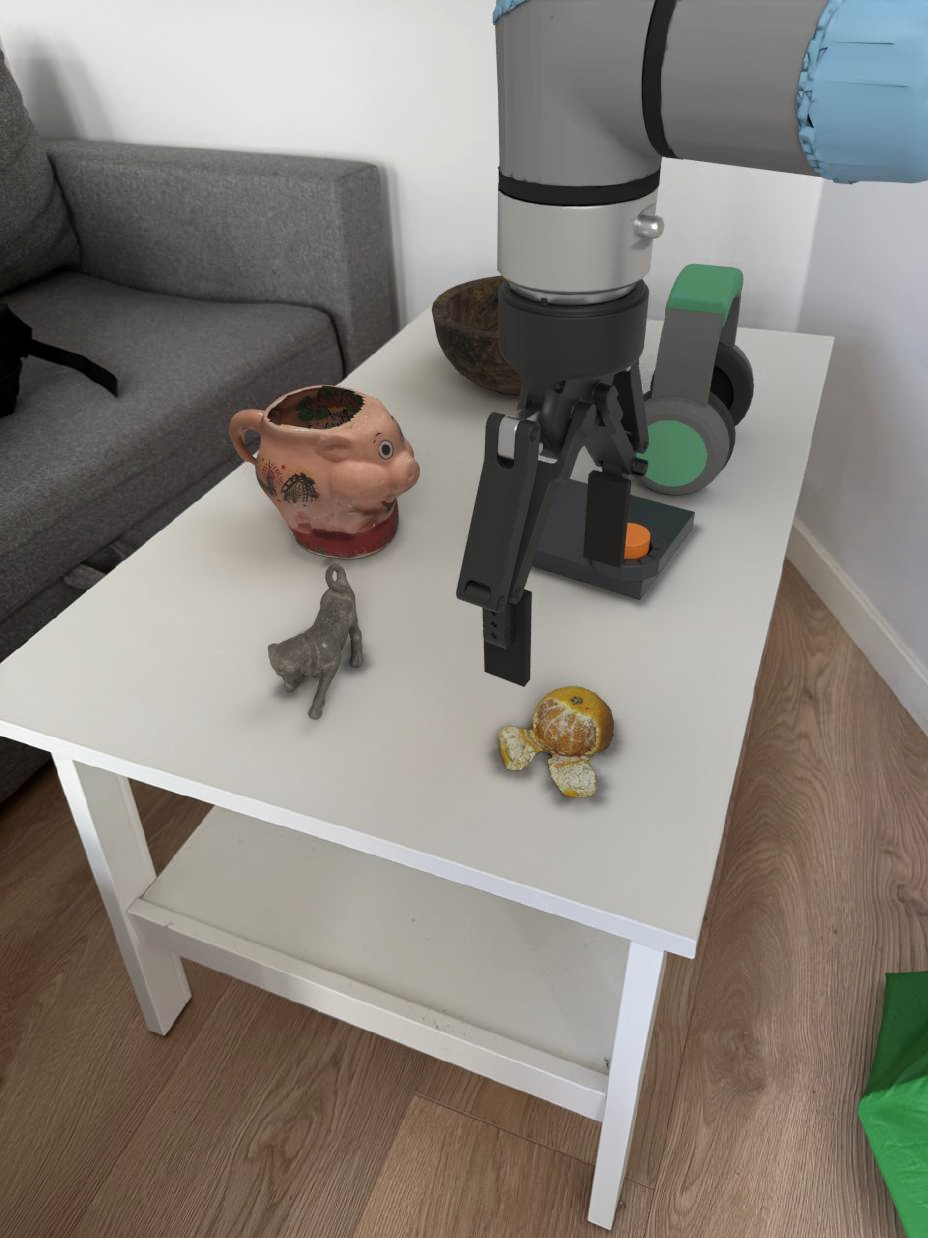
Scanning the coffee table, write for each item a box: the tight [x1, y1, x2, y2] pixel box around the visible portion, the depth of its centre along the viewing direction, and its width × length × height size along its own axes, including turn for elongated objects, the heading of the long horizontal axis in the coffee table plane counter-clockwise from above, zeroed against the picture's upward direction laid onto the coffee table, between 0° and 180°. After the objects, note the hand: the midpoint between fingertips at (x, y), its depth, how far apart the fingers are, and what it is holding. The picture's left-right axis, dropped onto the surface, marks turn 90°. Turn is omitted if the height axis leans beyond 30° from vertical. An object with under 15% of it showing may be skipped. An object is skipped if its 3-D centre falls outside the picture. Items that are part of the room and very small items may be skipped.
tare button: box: [624, 523, 650, 559], centre depth 80 cm, size 4×4×2 cm
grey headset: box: [633, 263, 755, 496], centre depth 93 cm, size 19×11×20 cm, turn 157°
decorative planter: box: [227, 384, 421, 560], centre depth 85 cm, size 20×12×14 cm, turn 71°
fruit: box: [497, 685, 615, 798], centre depth 66 cm, size 8×8×4 cm
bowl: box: [431, 275, 522, 395], centre depth 112 cm, size 22×22×10 cm
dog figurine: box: [267, 562, 364, 721], centre depth 71 cm, size 12×6×7 cm, turn 164°
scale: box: [532, 478, 696, 600], centre depth 86 cm, size 16×14×4 cm
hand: (558, 614), depth 59 cm, fingers open, 13 cm apart
